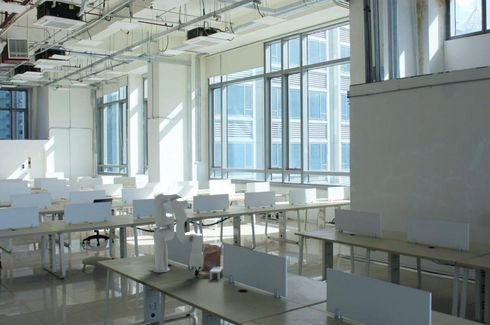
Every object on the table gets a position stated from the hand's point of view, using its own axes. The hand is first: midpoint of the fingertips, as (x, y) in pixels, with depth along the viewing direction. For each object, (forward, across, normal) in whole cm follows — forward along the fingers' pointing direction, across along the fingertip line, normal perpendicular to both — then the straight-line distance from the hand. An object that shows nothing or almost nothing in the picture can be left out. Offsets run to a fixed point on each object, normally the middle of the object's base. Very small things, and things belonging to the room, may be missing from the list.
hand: (196, 275), depth 380 cm
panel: (+1, +9, +1) cm, 9 cm away
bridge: (0, +15, 0) cm, 15 cm away
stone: (+1, +7, +19) cm, 20 cm away
